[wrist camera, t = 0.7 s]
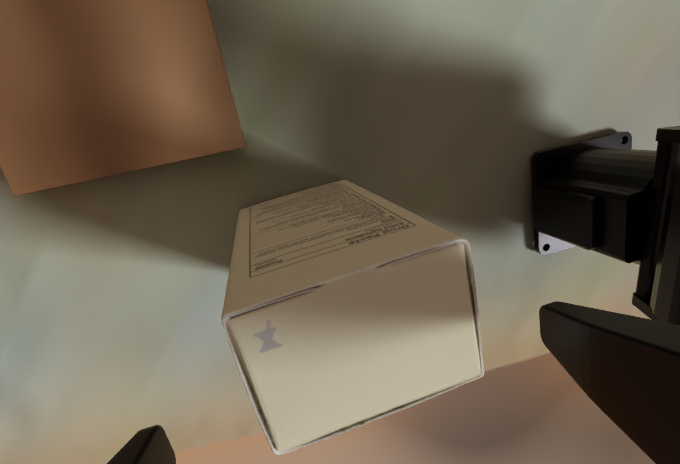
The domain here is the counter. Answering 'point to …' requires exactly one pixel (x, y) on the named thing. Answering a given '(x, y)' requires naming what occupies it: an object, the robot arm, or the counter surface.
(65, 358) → the counter surface
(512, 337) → the counter surface
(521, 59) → the counter surface
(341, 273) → the skincare box
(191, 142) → the brown flat square block
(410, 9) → the counter surface
